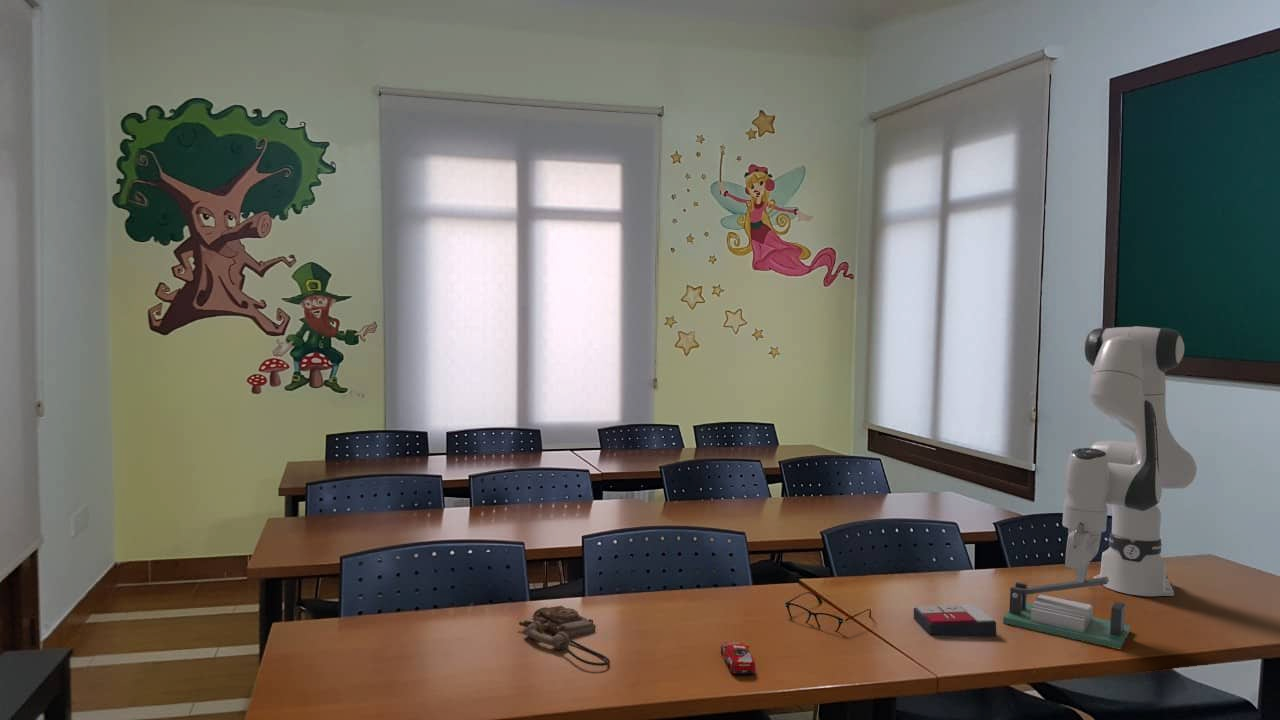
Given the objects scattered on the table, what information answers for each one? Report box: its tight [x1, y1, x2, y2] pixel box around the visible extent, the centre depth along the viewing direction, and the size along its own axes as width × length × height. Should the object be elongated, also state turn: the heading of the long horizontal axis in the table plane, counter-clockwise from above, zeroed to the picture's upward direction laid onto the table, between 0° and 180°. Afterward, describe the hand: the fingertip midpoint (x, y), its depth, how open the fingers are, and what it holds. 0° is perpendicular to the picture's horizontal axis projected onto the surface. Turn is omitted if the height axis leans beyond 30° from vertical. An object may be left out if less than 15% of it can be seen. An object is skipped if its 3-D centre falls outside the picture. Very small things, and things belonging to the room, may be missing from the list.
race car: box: [720, 641, 756, 675], centre depth 171 cm, size 13×5×4 cm, turn 4°
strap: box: [1021, 577, 1109, 596], centre depth 196 cm, size 3×20×1 cm, turn 53°
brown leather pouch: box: [518, 605, 611, 667], centre depth 181 cm, size 15×33×4 cm, turn 38°
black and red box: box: [913, 604, 997, 638], centre depth 194 cm, size 11×4×15 cm
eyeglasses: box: [784, 592, 872, 633], centre depth 199 cm, size 16×16×4 cm
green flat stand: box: [1002, 581, 1131, 649], centre depth 195 cm, size 14×24×8 cm, turn 53°
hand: (1080, 580), depth 193 cm, fingers closed, pressing on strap
